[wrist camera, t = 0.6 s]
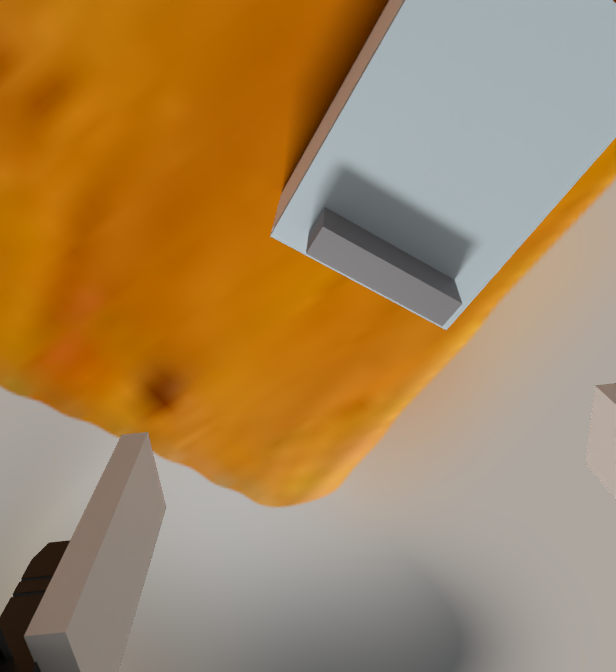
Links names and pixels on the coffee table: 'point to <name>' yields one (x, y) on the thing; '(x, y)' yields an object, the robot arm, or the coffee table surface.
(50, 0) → the coffee table surface
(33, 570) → the robot arm
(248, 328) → the coffee table surface
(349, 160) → the lid
